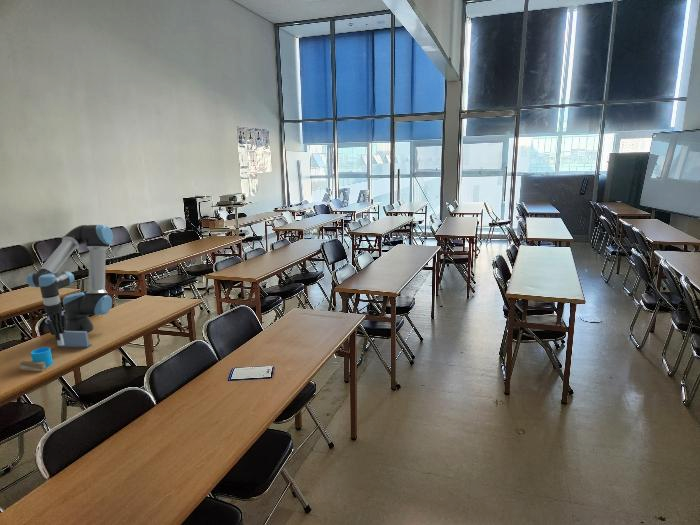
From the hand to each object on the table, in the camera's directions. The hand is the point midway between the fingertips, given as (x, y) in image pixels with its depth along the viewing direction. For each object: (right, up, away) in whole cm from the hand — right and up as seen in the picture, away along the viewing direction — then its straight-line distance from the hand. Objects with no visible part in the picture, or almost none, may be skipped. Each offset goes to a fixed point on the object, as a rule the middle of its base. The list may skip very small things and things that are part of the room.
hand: (61, 344), depth 241 cm
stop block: (-3, -9, -17) cm, 20 cm away
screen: (+1, -3, +10) cm, 10 cm away
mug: (-2, -8, -11) cm, 13 cm away
